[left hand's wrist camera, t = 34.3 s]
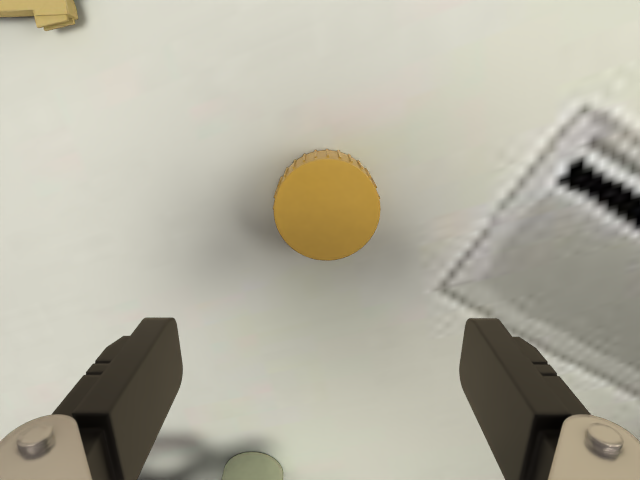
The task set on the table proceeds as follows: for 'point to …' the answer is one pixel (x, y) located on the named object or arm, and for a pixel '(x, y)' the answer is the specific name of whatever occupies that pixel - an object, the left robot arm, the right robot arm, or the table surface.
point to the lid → (326, 205)
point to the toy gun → (42, 11)
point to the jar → (252, 467)
